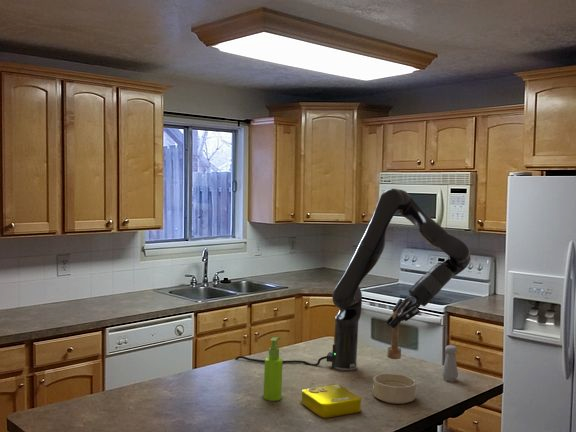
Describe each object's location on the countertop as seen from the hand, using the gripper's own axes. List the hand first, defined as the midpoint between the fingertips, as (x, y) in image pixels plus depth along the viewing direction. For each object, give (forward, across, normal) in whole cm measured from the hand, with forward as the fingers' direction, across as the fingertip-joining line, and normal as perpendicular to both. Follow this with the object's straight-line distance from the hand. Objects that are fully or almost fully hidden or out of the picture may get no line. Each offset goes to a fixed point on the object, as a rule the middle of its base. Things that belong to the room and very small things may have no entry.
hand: (389, 325), depth 195 cm
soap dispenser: (+45, -7, -8) cm, 46 cm away
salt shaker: (-4, -18, +41) cm, 45 cm away
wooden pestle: (+6, 0, +9) cm, 11 cm away
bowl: (+15, -3, +21) cm, 26 cm away
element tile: (+33, +4, +4) cm, 33 cm away
